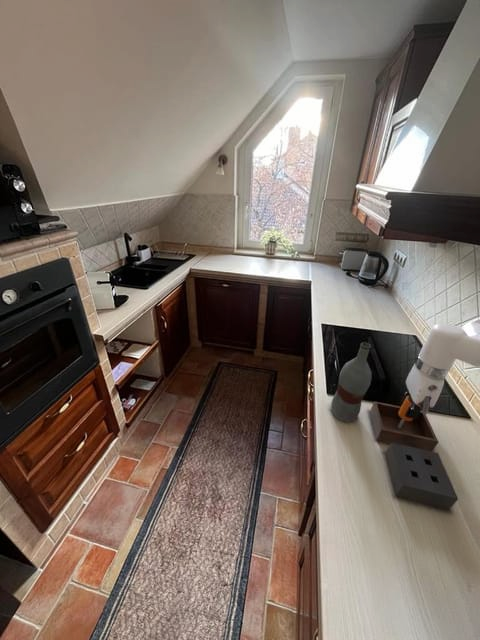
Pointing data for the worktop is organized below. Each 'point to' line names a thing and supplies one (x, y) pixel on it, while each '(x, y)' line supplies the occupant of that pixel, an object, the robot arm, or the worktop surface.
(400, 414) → the screwdriver
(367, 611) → the worktop surface
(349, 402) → the bottle
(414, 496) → the holder
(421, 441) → the tool tray
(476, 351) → the robot arm
